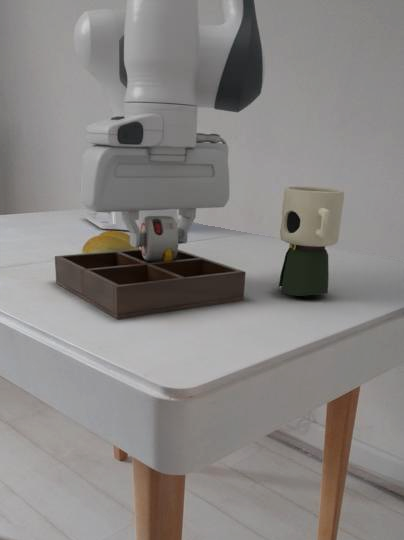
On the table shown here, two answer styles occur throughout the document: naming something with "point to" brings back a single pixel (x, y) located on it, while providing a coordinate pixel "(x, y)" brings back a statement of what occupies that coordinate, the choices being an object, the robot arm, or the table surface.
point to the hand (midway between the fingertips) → (158, 244)
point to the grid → (147, 282)
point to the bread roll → (108, 243)
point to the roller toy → (160, 238)
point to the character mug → (309, 237)
